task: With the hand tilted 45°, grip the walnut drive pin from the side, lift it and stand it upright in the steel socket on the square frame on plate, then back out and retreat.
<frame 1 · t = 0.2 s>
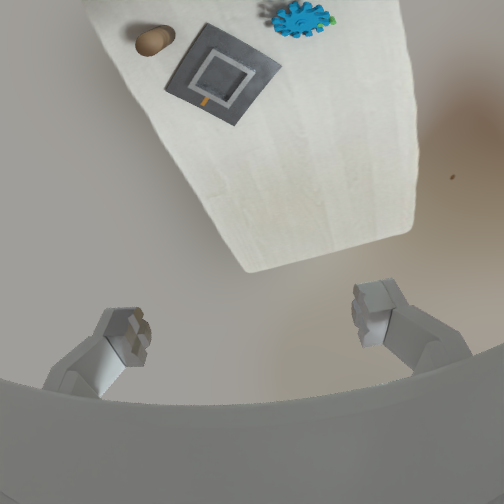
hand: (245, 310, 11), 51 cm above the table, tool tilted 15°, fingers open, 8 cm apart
square frame on plate: (222, 75, 48), on the table
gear: (300, 19, 39), on the table
drive pin: (163, 35, 41), on the table
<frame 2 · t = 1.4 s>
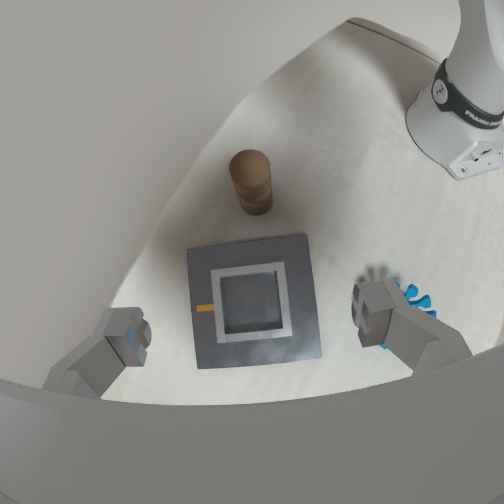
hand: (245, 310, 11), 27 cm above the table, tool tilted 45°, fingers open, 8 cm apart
square frame on plate: (252, 303, 38), on the table
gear: (389, 320, 36), on the table
drive pin: (256, 200, 41), on the table
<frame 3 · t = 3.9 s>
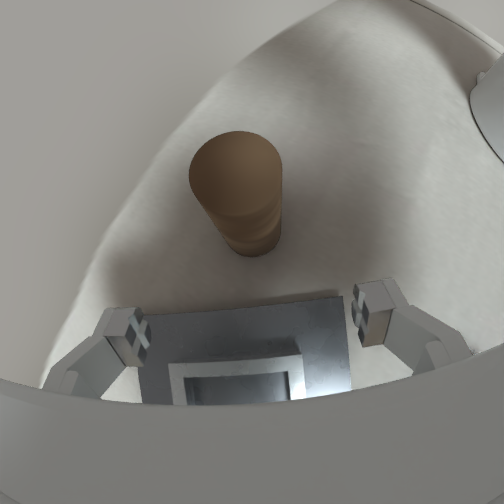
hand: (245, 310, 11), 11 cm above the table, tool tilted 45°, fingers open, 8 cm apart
square frame on plate: (244, 410, 20), on the table
drive pin: (252, 229, 23), on the table
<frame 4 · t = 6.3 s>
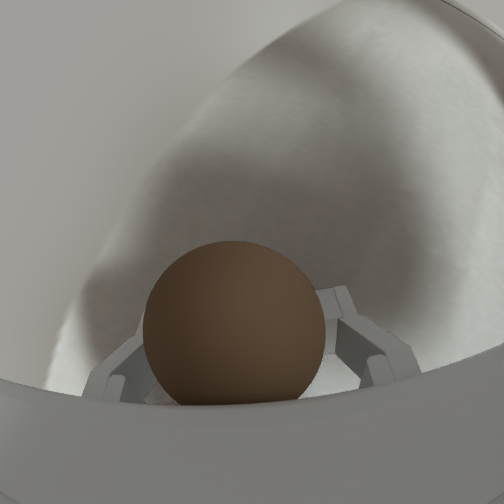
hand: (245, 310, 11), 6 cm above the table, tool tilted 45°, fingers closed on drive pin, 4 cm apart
drive pin: (257, 323, 16), on the table, touching gripper
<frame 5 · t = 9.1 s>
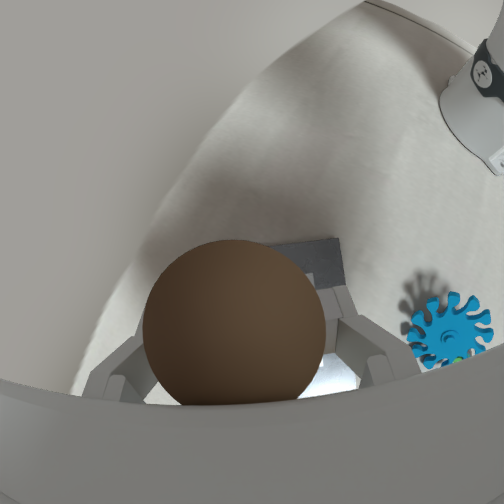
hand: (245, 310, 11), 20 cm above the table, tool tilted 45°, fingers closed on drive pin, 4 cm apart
square frame on plate: (271, 324, 30), on the table
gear: (435, 336, 28), on the table
drive pin: (258, 322, 16), point 14 cm above the table, touching gripper
when the fingers open (8 cm above the table, at t = 12.3 s): drive pin drops 1 cm, resting on square frame on plate.
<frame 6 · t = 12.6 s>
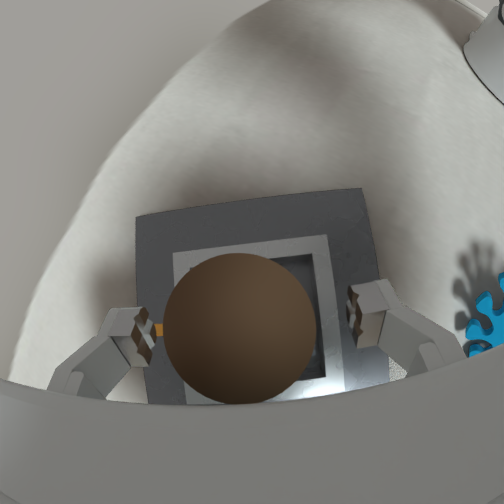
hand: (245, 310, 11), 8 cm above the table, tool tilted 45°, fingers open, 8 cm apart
square frame on plate: (259, 322, 19), on the table
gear: (495, 333, 17), on the table
drive pin: (259, 322, 18), point 1 cm above the table, touching square frame on plate
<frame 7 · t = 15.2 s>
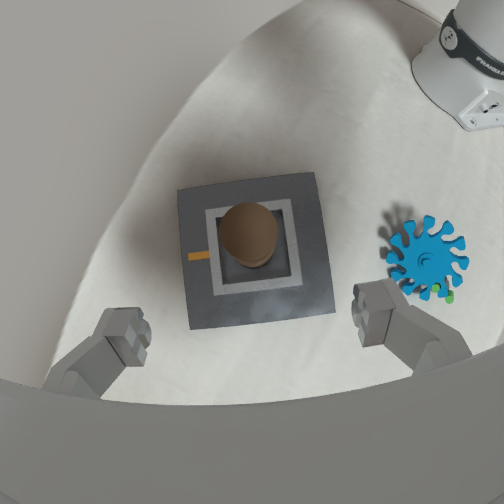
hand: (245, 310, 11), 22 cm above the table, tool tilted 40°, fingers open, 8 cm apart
square frame on plate: (254, 250, 33), on the table
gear: (414, 266, 32), on the table
drive pin: (253, 248, 32), point 1 cm above the table, touching square frame on plate
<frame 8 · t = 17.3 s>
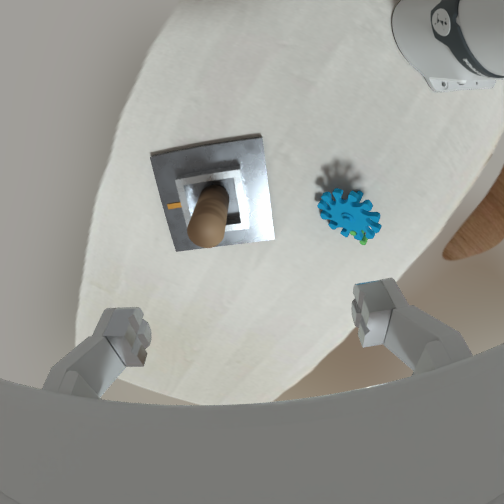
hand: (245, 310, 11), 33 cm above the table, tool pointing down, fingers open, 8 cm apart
square frame on plate: (214, 196, 43), on the table
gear: (343, 207, 45), on the table
drive pin: (214, 198, 42), point 1 cm above the table, touching square frame on plate
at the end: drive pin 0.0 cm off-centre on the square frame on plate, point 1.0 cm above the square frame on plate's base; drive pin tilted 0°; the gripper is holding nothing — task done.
